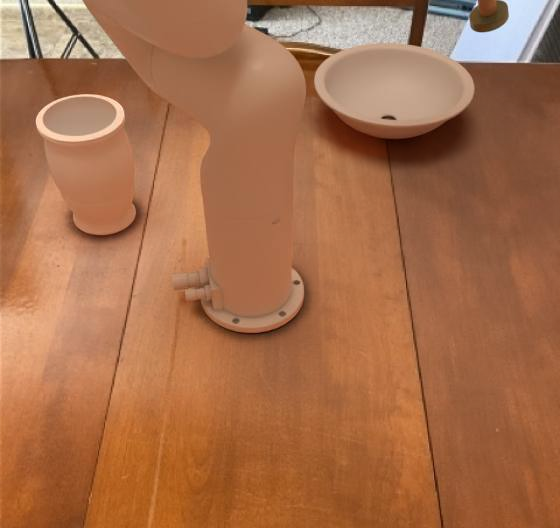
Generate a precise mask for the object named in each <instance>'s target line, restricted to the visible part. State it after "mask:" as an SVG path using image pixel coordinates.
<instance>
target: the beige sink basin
mask: <svg viewBox="0 0 560 528" xmlns="http://www.w3.org/2000/svg"><path fill="white" fill-rule="evenodd" d="M313 86H314V90H315V92H316V94H317V96H318V98H319V99H320V100H321V101H322V103H324V105H326V107H327V108H329V109H331V110H332V111H333V113H334V114H335V115H336V116H337V117H338V118H339V119H340V120H341V121H342V122H344V124H346V125H347V126H349V127H350V128H352V129H353V130H355V131H358V132H360V133H362V134H364V135H368V136H371V137H375V138H380V139H387V140H388V139H389V140H401V139H402V140H403V139H410V138H415V137H418V136H422V135H424V134H428V133H429V132H432V131H434V130H435V129H437V128H439V127H440V126H442V125H443V124H444V123H446V122H447V121H449V120H451V119H453V118H455V117H456V116H459V115H460V114H461V113H463V112H464V111H465V110H466V109H467V108H468V107H469V106H470V105H471V103H472V101H473V99H474V96H475V82H474V80H473V77H472V75H471V74H470V73H469V71H468V70H467V69H466V68H465V67H464V66H463V65H462V64H461V63H460V62H458V61H457V60H455V59H453V58H452V57H450V56H447V55H445V54H443V53H441V52H439V51H437V50H433V49H431V48H426V47H422V46H418V45H412V44H407V43H398V42H397V43H396V42H395V43H394V42H379V43H377V42H376V43H369V44H367V43H366V44H361V45H357V46H356V45H355V46H352V47H348V48H346V49H343V50H340V51H338V52H336V53H334V54H332V55H330V56H329V57H328V58H326V59H325V60H323V61H322V63H321V64H319V66H318V67H317V69H316V71H315V73H314V78H313ZM384 117H392V118H394V119H386V118H384Z"/></svg>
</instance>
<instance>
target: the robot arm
mask: <svg viewBox="0 0 560 528" xmlns="http://www.w3.org/2000/svg"><path fill="white" fill-rule="evenodd" d="M81 1H82V3H83V4H84V6H85V7H86V8H87V10H88V11H89V13H90V14H91V16H92V17H93V18H94V19H95V21H96V22H97V24H98V25H99V27H101V29H102V31H104V33H105V34H106V35H107V37H108V38H109V40H110V41H111V42H112V44H113V45H114V46H115V47H116V48H117V50H118V51H119V52H120V54H121V55H122V56H123V57H124V59H125V60H126V61H127V63H128V64H129V65H130V67H131V68H132V69H133V71H134V72H135V73H136V74H137V76H138V77H139V78H140V79H141V80H142V82H143V83H144V84H145V85H146V86H147V88H149V89H150V90H151V91H152V92H154V94H156V95H157V96H159V97H160V98H161V99H162V100H164V101H166V102H167V103H168V104H170V105H172V106H173V107H175V109H177V110H180V112H182V113H184V114H185V115H187V116H188V117H190V118H191V120H193V121H195V122H197V124H199V125H201V126H202V127H203V128H204V129H205V131H207V134H208V136H209V146H208V148H207V150H206V152H205V154H204V155H203V157H202V160H201V163H200V169H199V170H200V171H199V179H200V180H199V181H200V190H201V197H202V206H203V215H204V224H205V225H204V226H205V232H206V233H205V234H206V242H207V250H208V251H207V253H208V257H206V258H205V259H204V261H205V266H204V267H198V268H197V271H194V272H193V271H192V272H179V273H173V274H171V279H172V280H171V281H172V285H173V286H172V287H173V291H181V290H184V295H185V301H186V302H194V301H197V300H200V302H201V306H202V309H203V311H204V312H205V314H206V315H207V316H208V317H209V318H210V320H211V321H213V322H214V323H215V324H217V325H218V326H220V327H223V328H225V329H226V330H231V331H232V332H233V331H234V332H236V333H237V332H238V333H243V334H244V333H246V334H248V333H249V334H253V333H254V334H256V333H263V332H264V333H265V332H269V331H271V330H276V329H278V328H280V327H282V326H284V325H286V324H287V323H289V322H291V320H292V319H294V318H295V316H296V315H297V314H298V313H299V312H300V310H301V308H302V306H303V303H304V299H305V286H304V282H303V279H302V277H301V275H300V274H299V273H298V272H297V270H296V269H295V268H293V215H294V214H293V213H294V211H293V210H294V164H295V163H294V161H295V151H296V143H297V137H298V132H299V129H300V128H299V127H300V125H301V120H302V115H303V112H304V107H305V102H306V96H307V95H306V94H307V84H306V79H305V78H306V77H305V75H304V72H303V69H302V67H301V65H300V63H299V61H298V60H297V59H296V57H295V56H294V55H293V54H292V52H290V51H289V50H288V48H287V47H285V46H284V45H283V44H281V42H279V41H278V40H276V39H274V38H273V37H271V36H269V35H268V34H266V33H264V32H262V31H260V30H258V29H256V28H254V27H252V26H250V25H248V24H247V23H246V21H247V17H248V15H247V14H248V0H81ZM194 287H200V288H194ZM190 288H191V289H190Z"/></svg>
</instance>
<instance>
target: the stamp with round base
mask: <svg viewBox="0 0 560 528" xmlns="http://www.w3.org/2000/svg"><path fill="white" fill-rule="evenodd" d="M509 13H510V12H509V5H508V4H507V2H506V1H504V0H477V5H476V6H475V7H473V9H472V10H470V13H469V15H468V20H469V26H470V29H471V30H472V31H474V32H475V33H482V34H483V33H489V32H493V31H496V30H498V29H499V28H502V27H503V26H504V25H505V24H506V23H507V22H508V20H509V17H510V14H509Z"/></svg>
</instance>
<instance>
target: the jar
mask: <svg viewBox="0 0 560 528" xmlns="http://www.w3.org/2000/svg"><path fill="white" fill-rule="evenodd" d="M125 122H126V115H125V109H124V108H123V106H122V105H121V104H120V102H118V101H116V100H115V99H113V98H110V97H108V96H105V95H101V94H92V93H91V94H90V93H83V94H82V93H81V94H73V95H68V96H64V97H60V98H59V99H55V100H54V101H52V102H50V103H48V104H46V105H45V106H43V108H42V109H40V111H39V112H38V113H37V115H36V118H35V125H36V130H37V132H38V134H39V135H40V137H41V138H42V139H43V147H44V153H45V159H46V162H47V166H48V170H49V173H50V175H51V177H52V179H53V182H54V184H55V185H56V187H57V189H58V190H59V193H60V195H61V198H62V199H63V201H64V203H65V204H66V206H67V207H68V208H69V209H70V212H72V213H73V214H72V219H73V220H72V221H73V223H74V225H75V227H77V229H79V230H80V231H81V232H83V233H86V234H89V235H94V236H106V235H107V236H108V235H113V234H116V233H119V232H122V231H124V230H125V229H127V228H128V227H130V225H131V224H132V223H133V222H134V220H135V219H136V215H137V211H136V207H135V205H134V203H133V201H134V197H135V161H134V155H133V150H132V146H131V143H130V139H129V136H128V133H127V130H126V128H125V127H124V126H125Z"/></svg>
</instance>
